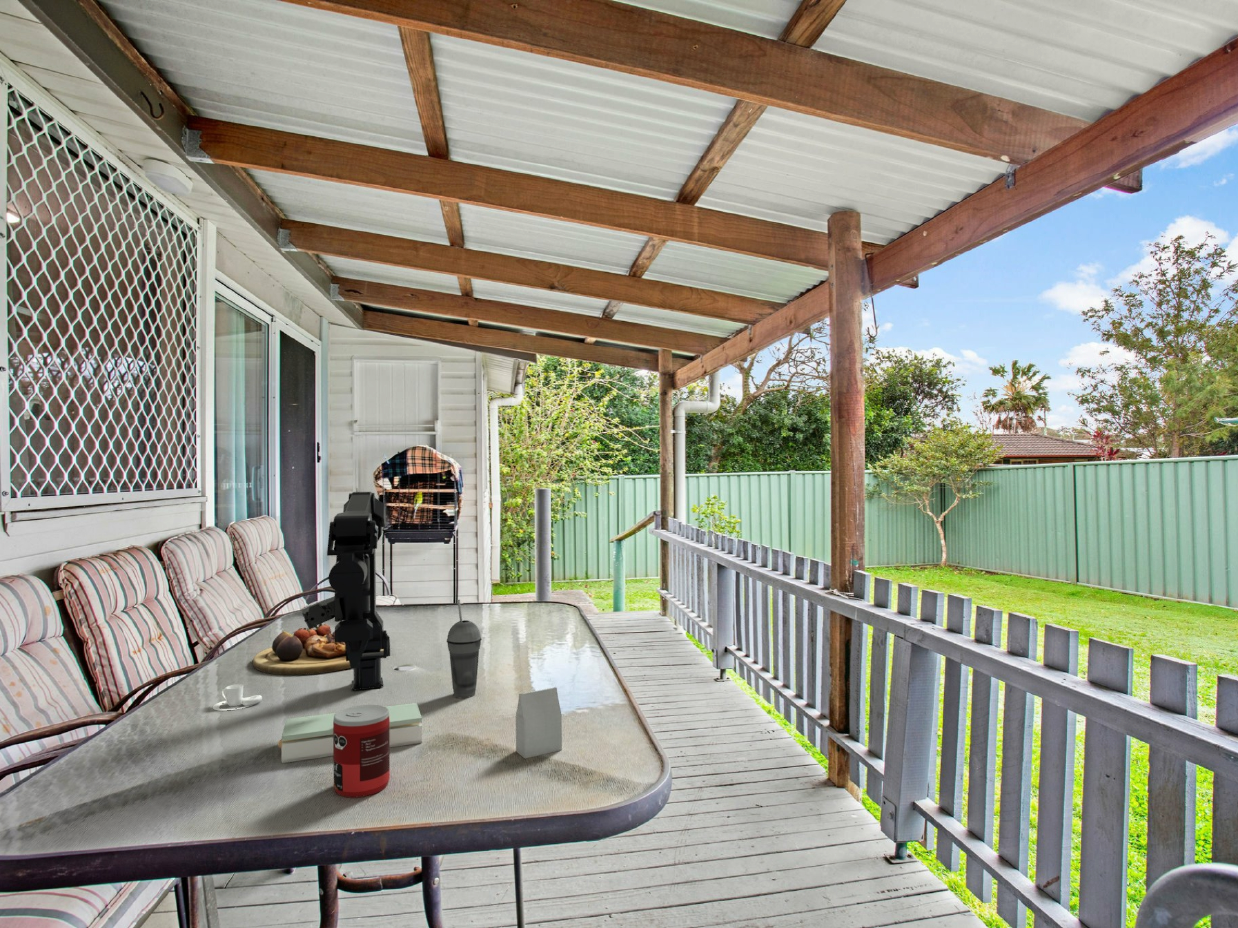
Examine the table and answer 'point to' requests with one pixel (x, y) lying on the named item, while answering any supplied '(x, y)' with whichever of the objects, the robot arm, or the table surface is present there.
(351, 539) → the robot arm
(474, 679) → the beverage cup
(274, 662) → the wooden plate with food
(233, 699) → the teacup and saucer
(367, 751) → the canned food
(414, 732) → the cable duct
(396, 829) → the table surface
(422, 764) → the table surface
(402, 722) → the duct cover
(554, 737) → the grey gable bag
